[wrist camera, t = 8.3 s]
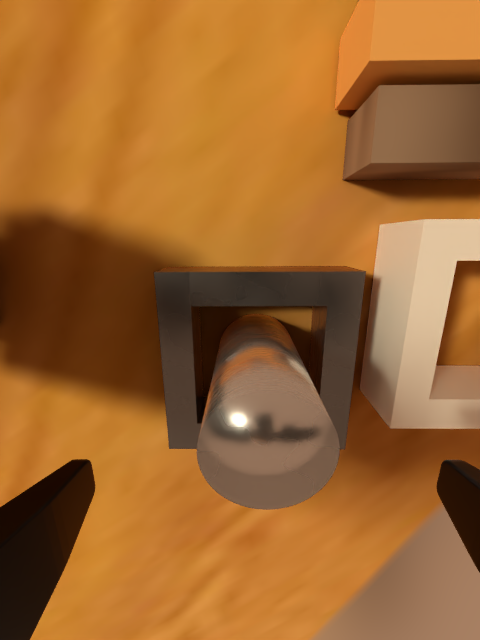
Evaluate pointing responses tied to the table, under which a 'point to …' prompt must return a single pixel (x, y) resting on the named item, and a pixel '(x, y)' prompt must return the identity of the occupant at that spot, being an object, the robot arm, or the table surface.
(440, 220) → the frame
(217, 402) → the peg
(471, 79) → the block
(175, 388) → the socket block
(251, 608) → the table surface
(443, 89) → the key guide
